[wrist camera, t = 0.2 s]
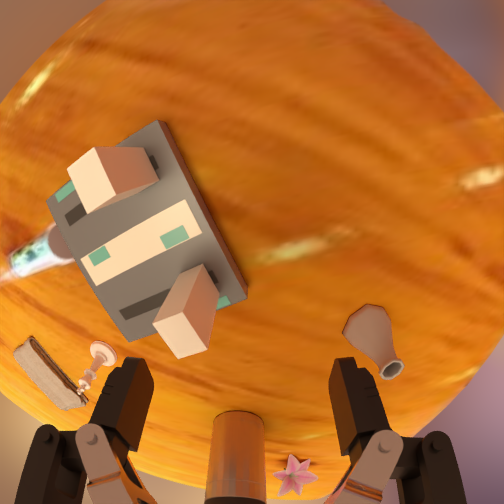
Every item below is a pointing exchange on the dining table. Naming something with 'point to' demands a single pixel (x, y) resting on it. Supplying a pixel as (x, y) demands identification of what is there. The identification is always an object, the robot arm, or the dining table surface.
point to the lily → (294, 476)
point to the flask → (374, 339)
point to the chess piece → (97, 363)
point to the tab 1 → (111, 175)
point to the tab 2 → (188, 313)
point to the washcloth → (48, 375)
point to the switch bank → (147, 239)
